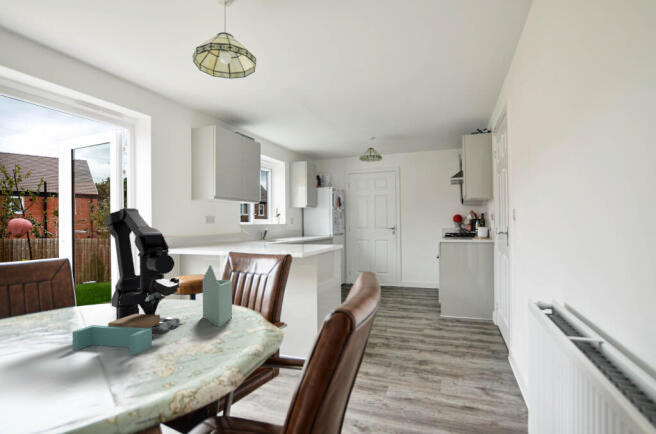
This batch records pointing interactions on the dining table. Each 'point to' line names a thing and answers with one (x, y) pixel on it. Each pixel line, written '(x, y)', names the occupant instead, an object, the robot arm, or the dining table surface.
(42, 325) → the dining table surface
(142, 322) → the slab
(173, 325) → the roller rear
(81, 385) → the dining table surface
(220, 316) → the planter
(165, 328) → the roller front
